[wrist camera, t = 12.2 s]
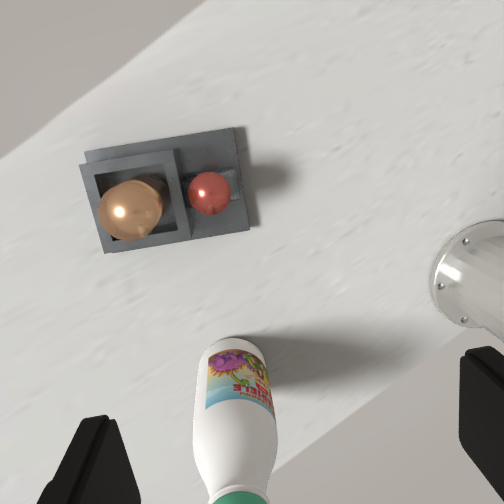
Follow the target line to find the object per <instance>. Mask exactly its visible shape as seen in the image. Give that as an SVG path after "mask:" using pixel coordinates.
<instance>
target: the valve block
mask: <svg viewBox="0 0 504 504" xmlns="http://www.w3.org/2000/svg"><path fill="white" fill-rule="evenodd" d="M84 154H85V158H86V161H87V163H85V164H80V165H79V168H80V171H81V175H82V178H83V181H84V185H85V188H86V192H87V195H88V199H89V202H90V206H91V209H92V213H93V216H94V219H95V223H96V226H97V230H98V233H99V237H100V240H101V244H102V247H103V251H104V254H105V253H111V252H112V253H117V252H123V251H129V250H135V249H141V248H147V247H153V246H159V245H165V244H171V243H176V242H182V241H188V240H194V239H200V238H206V237H212V236H218V235H224V234H230V233H236V232H242V231H247V230H250V229H249V223H248V217H247V210H246V204H245V198H244V192H243V186H242V179H241V173H240V167H239V161H238V155H237V148H236V142H235V136H234V130H233V128H228V129H222V130H215V131H209V132H203V133H197V134H191V135H185V136H178V137H172V138H166V139H160V140H154V141H147V142H141V143H135V144H129V145H123V146H117V147H110V148H104V149H98V150H92V151H86V152H84ZM141 174H150V175H154V176H156V177H158V178H160V179H161V180H162V181H163V182H164V183H165V184H166V186H167V187H168V189H169V192H170V204H169V207H168V209H167V210H166V212H165V213H164V214H163V216H162V217H161V219H160V220H159V221H158V223H157V224H156V226H155V227H154V228H153V230H152V231H151V232H150V233H149V234H148V235H147V236H146V237H144V238H142V239H140V240H136V241H123V240H120V239H117V238H115V237H113V236H112V235H110V234H109V233H108V232H107V231H106V230H105V229H104V227H103V226H102V224H101V222H100V219H99V215H98V206H99V202H100V200H101V198H102V196H103V195H104V194H105V193H106V192H107V191H108V190H109V189H111V188H113V187H115V186H117V185H119V184H121V183H123V182H125V181H127V180H129V179H131V178H133V177H135V176H137V175H141Z"/></svg>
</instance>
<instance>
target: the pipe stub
mask: <svg viewBox="0 0 504 504" xmlns="http://www.w3.org/2000/svg"><path fill="white" fill-rule="evenodd" d="M169 204H170V192H169V189H168V187H167V186H166V184H165V183H164V182H163V181H162V180H161V179H160V178H158V177H156V176H154V175H150V174H141V175H137V176H135V177H133V178H131V179H129V180H127V181H125V182H123V183H121V184H119V185H117V186H115V187H113V188H111V189H109V190H108V191H107V192H106V193H105V194H104V195H103V196H102V198H101V200H100V202H99V206H98V215H99V219H100V222H101V224H102V226H103V227H104V229H105V230H106V231H107V232H108V233H109V234H110V235H112V236H113V237H115V238H117V239H120V240H123V241H136V240H140V239H142V238H144V237H146V236H147V235H148V234H149V233H150V232H151V231H152V230H153V228H154V227H155V226H156V224H157V223H158V221H159V220H160V219H161V217H162V216H163V214H164V213H165V212H166V210H167V209H168V207H169Z"/></svg>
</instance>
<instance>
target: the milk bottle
mask: <svg viewBox="0 0 504 504" xmlns="http://www.w3.org/2000/svg"><path fill="white" fill-rule="evenodd" d="M277 446H278V438H277V427H276V419H275V413H274V407H273V402H272V396H271V390H270V385H269V380H268V374H267V369H266V364H265V360H264V357H263V355H262V353H261V352H260V350H259V349H258V348H257V347H256V346H255V345H253V344H252V343H250V342H249V341H246V340H243V339H239V338H227V339H223V340H220V341H217V342H216V343H214V344H212V345H211V346H210V347H209V348H208V349H207V350H206V351H205V352H204V354H203V355H202V357H201V359H200V363H199V369H198V378H197V388H196V399H195V410H194V422H193V452H194V457H195V461H196V464H197V467H198V470H199V472H200V474H201V476H202V478H203V480H204V482H205V484H206V487H207V489H208V493H209V497H210V500H209V502H208V504H270V502H269V499H268V497H267V496H266V488H267V483H268V480H269V477H270V474H271V471H272V469H273V466H274V463H275V459H276V454H277Z"/></svg>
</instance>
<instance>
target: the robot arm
mask: <svg viewBox="0 0 504 504" xmlns="http://www.w3.org/2000/svg"><path fill="white" fill-rule="evenodd" d="M430 289H431V295H432V298H433V301H434V303H435V305H436V306H437V308H438V309H439V311H440V312H441V313H442V314H443V315H444V316H446V317H447V318H448V319H449V320H451V321H452V322H454V323H456V324H458V325H460V326H464V327H469V328H485V329H486V330H488V331H489V332H490V333H492V334H493V335H494V336H496V337H497V338H498V339H500V340H501V341H502V342H504V222H503V221H488V222H483V223H479V224H476V225H473V226H470V227H469V228H467V229H465V230H463V231H461V232H460V233H459V234H457V235H456V236H455V237H454V238H452V239H451V240H450V241H449V242H448V243H447V244H446V246H445V247H444V248H443V249H442V251H441V252H440V254H439V255H438V257H437V259H436V261H435V264H434V266H433V269H432V273H431V279H430ZM459 391H460V392H459V439H460V442H461V445H462V447H463V448H464V450H465V451H466V453H467V454H468V455H469V457H470V458H471V459H472V460H473V462H474V463H475V464H476V466H477V467H478V468H479V469H480V471H481V472H482V473H483V475H484V476H485V478H486V479H487V480H488V481H489V483H490V484H491V485H492V486H493V488H494V489H495V491H496V492H497V493H498V495H499V496H500V497H501V498H502V500H503V501H504V356H503V355H502V354H501V353H500V352H498V351H497V350H496V349H495V348H493V347H491V346H485V347H480V348H474V349H469V350H467V351H466V352H465V356H462V357H461V359H460V389H459ZM37 504H141V497H140V493H139V489H138V486H137V483H136V480H135V477H134V474H133V471H132V468H131V465H130V462H129V459H128V456H127V453H126V450H125V447H124V443H123V440H122V437H121V434H120V431H119V428H118V425H117V422H116V421H115V419H111V420H110V419H109V417H108V416H107V415H101V416H95V417H90V418H85V419H83V420H82V421H81V423H80V425H79V427H78V429H77V431H76V433H75V435H74V437H73V439H72V441H71V443H70V445H69V447H68V449H67V451H66V453H65V455H64V457H63V459H62V461H61V463H60V466H59V468H58V470H57V472H56V474H55V476H54V478H53V480H51V481H50V482H49V483H48V484H47V485H46V487H45V488H44V490H43V492H42V494H41V496H40V498H39V500H38V502H37Z"/></svg>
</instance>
